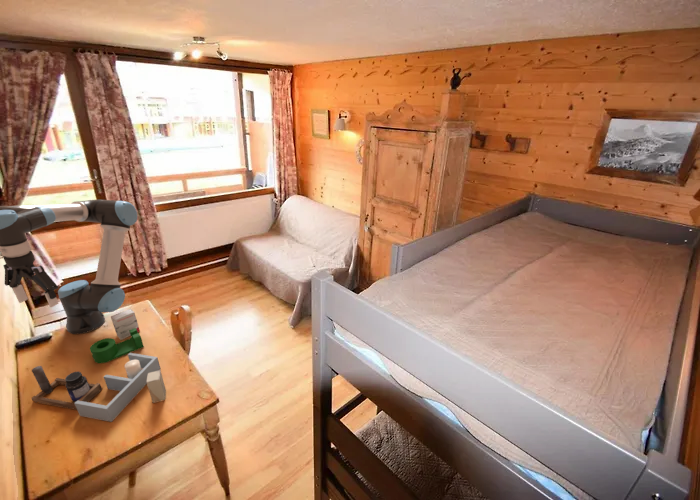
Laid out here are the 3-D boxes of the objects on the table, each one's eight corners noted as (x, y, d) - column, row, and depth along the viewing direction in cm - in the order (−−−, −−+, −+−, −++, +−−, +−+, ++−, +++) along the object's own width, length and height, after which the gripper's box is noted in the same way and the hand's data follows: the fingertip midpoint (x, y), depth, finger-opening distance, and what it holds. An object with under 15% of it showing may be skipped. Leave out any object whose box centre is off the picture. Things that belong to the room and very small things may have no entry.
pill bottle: (71, 396, 124) (62, 375, 119) (91, 388, 128) (82, 367, 123) (73, 407, 120) (63, 385, 115) (93, 398, 123) (84, 377, 119)
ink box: (136, 327, 162) (130, 307, 157) (140, 331, 159) (134, 311, 154) (116, 335, 155) (109, 315, 150) (120, 340, 153) (113, 320, 148)
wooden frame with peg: (56, 381, 130) (46, 358, 125) (102, 389, 127) (93, 366, 122) (31, 401, 121) (19, 378, 116) (79, 410, 118) (69, 387, 113)
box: (154, 393, 127) (147, 372, 122) (166, 390, 128) (160, 369, 124) (152, 403, 122) (145, 382, 118) (165, 400, 124) (159, 379, 119)
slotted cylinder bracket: (96, 367, 138) (92, 355, 135) (92, 355, 143) (88, 344, 141) (143, 347, 149) (140, 336, 147) (138, 337, 155) (135, 326, 152)
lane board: (133, 364, 140) (129, 352, 137) (160, 368, 138) (157, 357, 135) (80, 415, 117) (74, 403, 114) (111, 421, 115) (106, 409, 112)
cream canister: (135, 373, 135) (131, 358, 132) (146, 375, 135) (142, 360, 131) (126, 382, 131) (121, 367, 127) (137, 384, 130) (132, 369, 127)
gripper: (-25, 254, 113) (0, 304, 122) (36, 261, 110) (57, 312, 119) (-1, 245, 120) (21, 293, 129) (58, 252, 117) (76, 301, 126)
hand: (39, 303), depth 124 cm, fingers open, 13 cm apart
